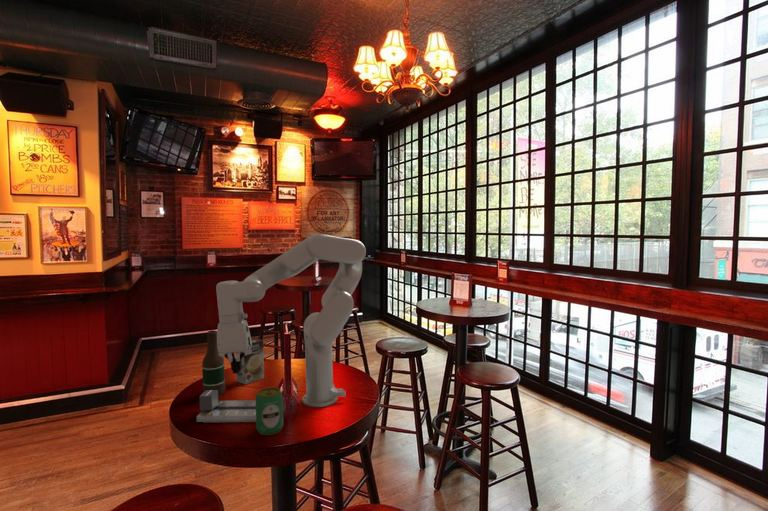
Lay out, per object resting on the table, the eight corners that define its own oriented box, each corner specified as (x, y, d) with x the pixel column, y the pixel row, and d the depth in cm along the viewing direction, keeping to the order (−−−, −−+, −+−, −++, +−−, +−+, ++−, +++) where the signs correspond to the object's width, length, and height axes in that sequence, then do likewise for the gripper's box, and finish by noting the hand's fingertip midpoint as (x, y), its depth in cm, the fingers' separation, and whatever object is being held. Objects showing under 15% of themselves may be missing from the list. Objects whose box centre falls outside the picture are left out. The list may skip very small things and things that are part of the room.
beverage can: (258, 438, 121) (256, 398, 120) (255, 426, 128) (253, 389, 127) (285, 432, 124) (284, 393, 123) (281, 421, 131) (279, 384, 130)
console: (281, 405, 143) (280, 394, 142) (271, 421, 131) (271, 410, 131) (212, 406, 143) (212, 395, 143) (196, 422, 131) (196, 411, 131)
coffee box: (245, 385, 162) (244, 345, 161) (236, 381, 166) (234, 342, 165) (264, 378, 170) (263, 340, 169) (255, 374, 173) (253, 337, 172)
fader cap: (218, 403, 139) (217, 389, 139) (212, 410, 134) (211, 395, 134) (206, 403, 139) (206, 389, 139) (200, 410, 134) (199, 395, 134)
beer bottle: (217, 398, 149) (214, 334, 148) (198, 397, 151) (195, 333, 149) (229, 390, 157) (227, 328, 155) (211, 389, 159) (209, 328, 157)
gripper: (257, 314, 138) (262, 366, 140) (213, 317, 139) (219, 369, 140) (250, 319, 131) (255, 374, 133) (204, 322, 131) (210, 377, 133)
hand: (237, 372), depth 136 cm, fingers closed
